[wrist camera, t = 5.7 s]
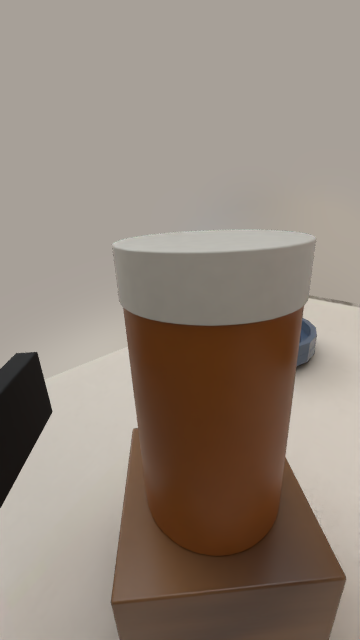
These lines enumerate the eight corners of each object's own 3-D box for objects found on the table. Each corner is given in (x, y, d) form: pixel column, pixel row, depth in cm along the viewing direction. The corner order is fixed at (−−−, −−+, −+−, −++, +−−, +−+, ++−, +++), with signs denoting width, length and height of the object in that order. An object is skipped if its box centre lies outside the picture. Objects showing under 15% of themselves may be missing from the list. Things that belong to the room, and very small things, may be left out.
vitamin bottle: (117, 525, 12) (65, 250, 8) (174, 423, 17) (162, 230, 13) (276, 590, 9) (324, 253, 5) (284, 449, 15) (311, 228, 11)
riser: (132, 698, 12) (110, 604, 9) (143, 509, 19) (132, 427, 17) (319, 675, 12) (348, 578, 10) (259, 498, 20) (265, 417, 17)
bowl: (192, 365, 36) (192, 341, 35) (220, 324, 49) (220, 305, 48) (315, 385, 31) (320, 358, 30) (310, 333, 44) (313, 312, 43)
